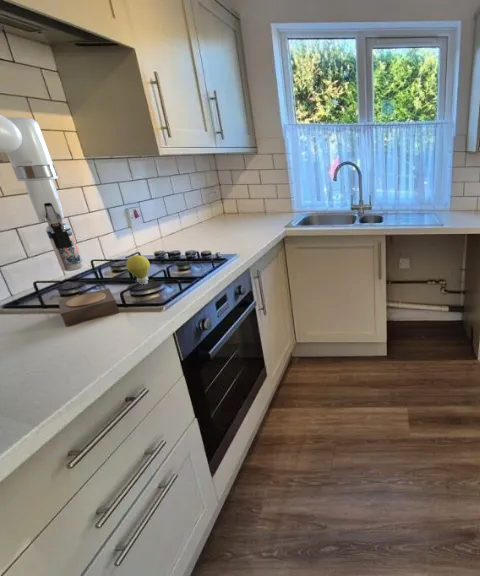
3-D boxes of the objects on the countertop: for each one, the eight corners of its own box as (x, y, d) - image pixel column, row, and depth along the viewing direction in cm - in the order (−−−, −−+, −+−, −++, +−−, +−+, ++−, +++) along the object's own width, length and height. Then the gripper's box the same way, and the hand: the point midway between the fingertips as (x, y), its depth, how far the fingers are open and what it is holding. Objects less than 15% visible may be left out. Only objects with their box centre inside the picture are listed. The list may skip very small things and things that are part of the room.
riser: (66, 326, 96) (60, 312, 95) (63, 312, 105) (57, 299, 103) (119, 312, 104) (114, 298, 102) (113, 300, 112) (108, 287, 110)
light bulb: (159, 280, 127) (151, 253, 123) (144, 287, 121) (135, 259, 117) (143, 279, 128) (135, 252, 124) (127, 286, 122) (118, 258, 118)
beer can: (69, 272, 95) (52, 227, 90) (57, 271, 96) (39, 226, 92) (88, 266, 99) (72, 223, 94) (76, 265, 100) (60, 222, 96)
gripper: (16, 172, 91) (44, 242, 99) (13, 177, 80) (46, 255, 87) (54, 170, 96) (79, 237, 103) (57, 174, 84) (85, 248, 91)
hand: (63, 244), depth 95 cm, fingers closed on beer can, 4 cm apart
